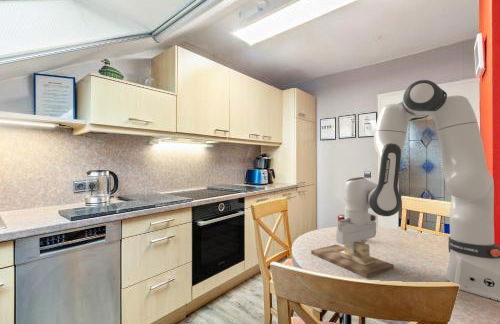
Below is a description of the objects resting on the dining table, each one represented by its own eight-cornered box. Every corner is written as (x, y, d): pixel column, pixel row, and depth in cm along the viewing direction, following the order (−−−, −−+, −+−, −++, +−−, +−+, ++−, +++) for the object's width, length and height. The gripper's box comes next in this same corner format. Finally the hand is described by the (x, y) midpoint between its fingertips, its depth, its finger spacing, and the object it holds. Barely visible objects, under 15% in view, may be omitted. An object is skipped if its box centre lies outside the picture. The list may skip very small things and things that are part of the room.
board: (393, 268, 94) (393, 264, 94) (366, 278, 86) (366, 273, 86) (336, 247, 119) (336, 244, 119) (311, 253, 111) (311, 250, 111)
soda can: (354, 237, 135) (353, 215, 135) (349, 240, 130) (348, 217, 130) (341, 235, 140) (340, 213, 140) (335, 237, 135) (335, 216, 135)
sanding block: (375, 263, 96) (374, 245, 96) (365, 266, 93) (364, 247, 93) (349, 253, 106) (349, 237, 106) (339, 256, 103) (339, 239, 103)
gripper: (344, 221, 92) (345, 258, 92) (378, 215, 102) (379, 249, 101) (331, 218, 97) (332, 253, 97) (365, 213, 107) (366, 245, 107)
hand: (356, 251), depth 99 cm, fingers open, 4 cm apart
